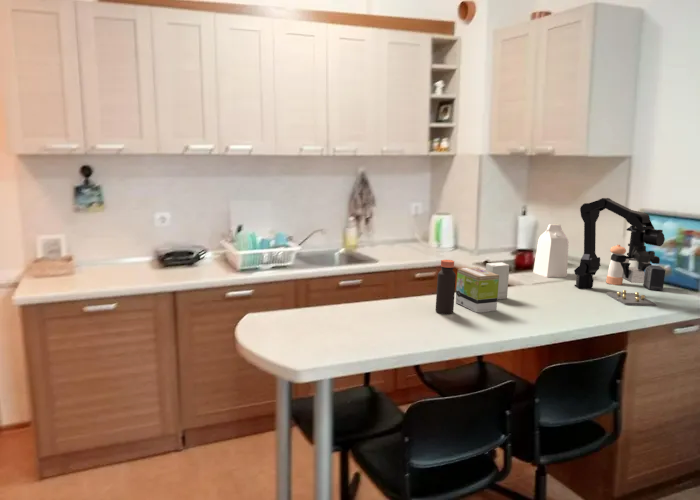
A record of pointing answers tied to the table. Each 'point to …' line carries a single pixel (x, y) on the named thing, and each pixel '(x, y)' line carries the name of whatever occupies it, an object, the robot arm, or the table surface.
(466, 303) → the tea box
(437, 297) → the bottle
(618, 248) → the pepper shaker
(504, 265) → the skincare box
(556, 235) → the milk
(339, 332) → the table surface
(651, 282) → the small box
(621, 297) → the pin tray
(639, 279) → the block
